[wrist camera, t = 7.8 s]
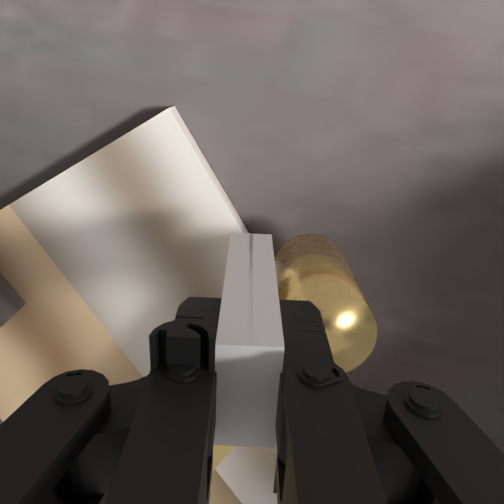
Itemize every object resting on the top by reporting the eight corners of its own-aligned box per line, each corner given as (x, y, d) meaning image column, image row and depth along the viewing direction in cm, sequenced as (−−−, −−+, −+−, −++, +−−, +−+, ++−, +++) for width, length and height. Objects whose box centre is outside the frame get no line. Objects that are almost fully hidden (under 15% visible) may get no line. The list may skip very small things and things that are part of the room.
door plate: (174, 105, 18) (135, 118, 12) (407, 503, 26) (450, 624, 20) (-107, 276, 21) (-247, 351, 15) (183, 585, 29) (165, 709, 23)
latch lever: (186, 484, 22) (168, 591, 18) (110, 446, 21) (69, 548, 17) (373, 269, 18) (416, 336, 13) (287, 210, 17) (298, 260, 12)
